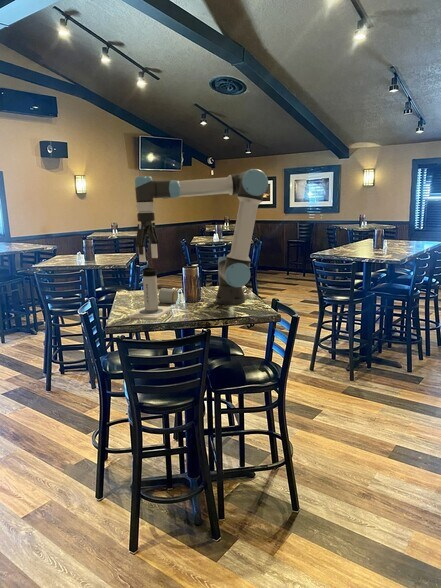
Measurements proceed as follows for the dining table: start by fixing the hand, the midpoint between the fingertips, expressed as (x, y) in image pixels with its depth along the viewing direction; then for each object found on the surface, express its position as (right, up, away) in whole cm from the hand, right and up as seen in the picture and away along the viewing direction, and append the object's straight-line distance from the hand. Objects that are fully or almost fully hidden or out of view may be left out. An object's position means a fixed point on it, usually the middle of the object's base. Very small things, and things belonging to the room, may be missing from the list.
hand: (148, 260), depth 198 cm
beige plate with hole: (0, -24, +5) cm, 25 cm away
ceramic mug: (+6, -20, +26) cm, 34 cm away
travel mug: (0, -24, +5) cm, 24 cm away
